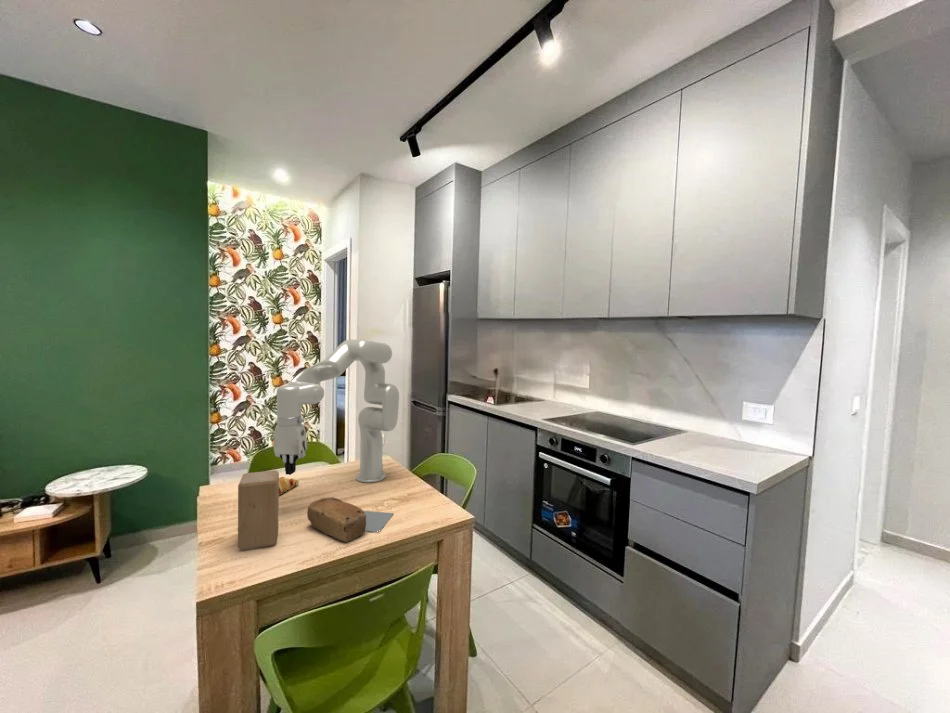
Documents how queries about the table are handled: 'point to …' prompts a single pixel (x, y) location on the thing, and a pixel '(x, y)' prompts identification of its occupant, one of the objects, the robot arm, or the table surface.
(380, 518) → the mat
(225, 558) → the table surface
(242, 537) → the wooden block
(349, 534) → the brown rounded lump
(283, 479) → the croissant
